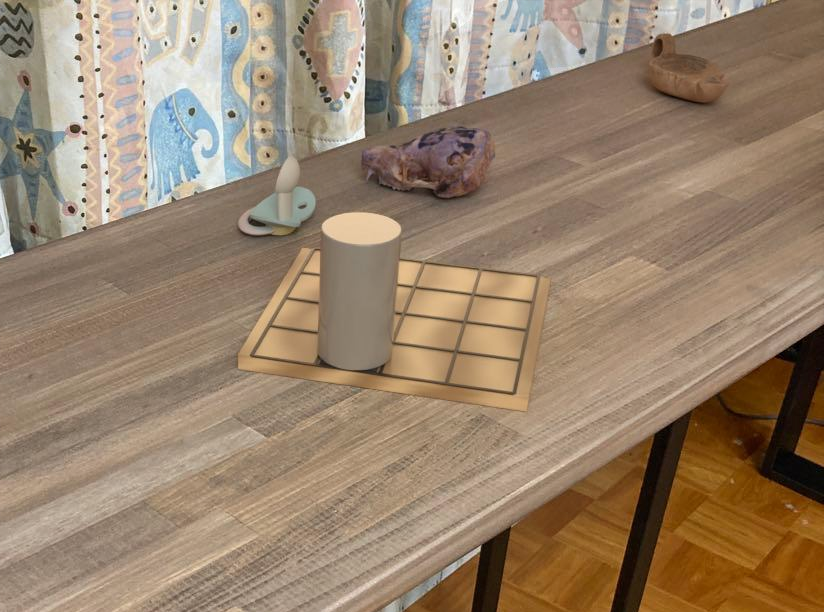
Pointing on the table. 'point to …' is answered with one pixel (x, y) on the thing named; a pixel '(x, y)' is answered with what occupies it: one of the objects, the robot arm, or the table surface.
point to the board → (418, 333)
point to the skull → (434, 161)
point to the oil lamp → (684, 73)
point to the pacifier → (281, 205)
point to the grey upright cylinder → (358, 290)
